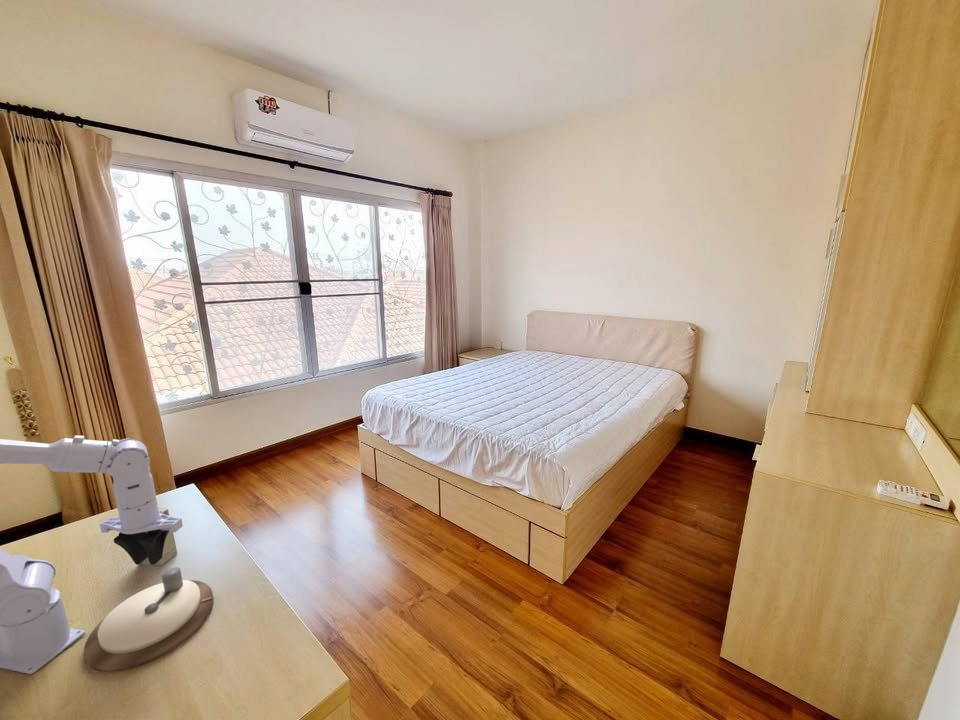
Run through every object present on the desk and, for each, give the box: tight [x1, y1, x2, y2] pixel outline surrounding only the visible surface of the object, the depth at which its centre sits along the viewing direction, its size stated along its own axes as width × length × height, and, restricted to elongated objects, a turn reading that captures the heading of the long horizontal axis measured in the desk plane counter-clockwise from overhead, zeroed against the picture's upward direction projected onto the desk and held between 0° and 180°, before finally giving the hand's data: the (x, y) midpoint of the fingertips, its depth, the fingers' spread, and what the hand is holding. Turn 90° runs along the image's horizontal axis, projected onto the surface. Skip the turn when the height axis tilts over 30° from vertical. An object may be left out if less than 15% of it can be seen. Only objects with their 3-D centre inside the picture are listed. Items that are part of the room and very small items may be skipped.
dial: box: [98, 566, 201, 654], centre depth 73 cm, size 15×15×5 cm
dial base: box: [83, 579, 215, 673], centre depth 74 cm, size 19×19×1 cm
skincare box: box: [139, 507, 178, 566], centre depth 90 cm, size 6×4×12 cm
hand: (149, 561), depth 78 cm, fingers open, 2 cm apart
